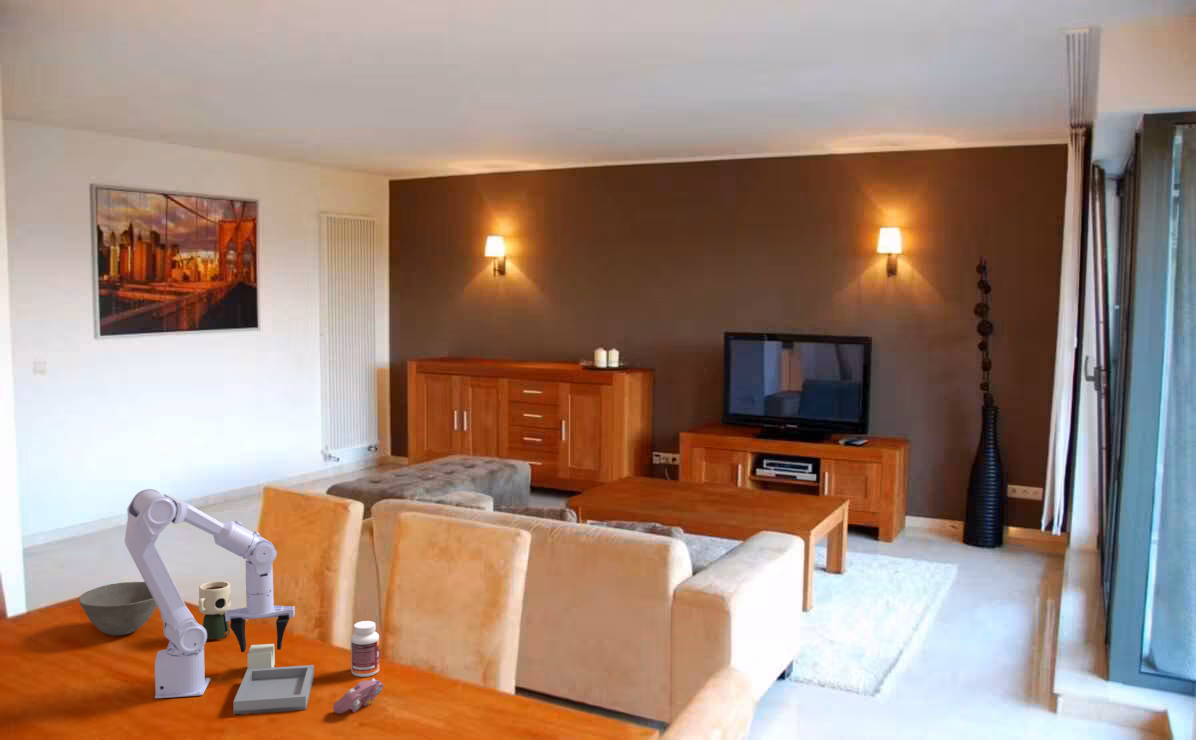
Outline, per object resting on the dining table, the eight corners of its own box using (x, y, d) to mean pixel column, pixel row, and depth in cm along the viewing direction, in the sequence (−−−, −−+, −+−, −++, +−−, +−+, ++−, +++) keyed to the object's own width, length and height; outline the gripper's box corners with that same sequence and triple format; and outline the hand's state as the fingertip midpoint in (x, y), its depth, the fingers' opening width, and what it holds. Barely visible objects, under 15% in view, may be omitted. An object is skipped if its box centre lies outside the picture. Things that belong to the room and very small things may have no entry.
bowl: (142, 647, 223) (141, 606, 222) (64, 646, 223) (62, 605, 222) (178, 619, 241) (177, 581, 240) (106, 617, 242) (104, 580, 241)
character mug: (213, 646, 223) (211, 594, 222) (188, 643, 225) (186, 590, 224) (242, 630, 234) (241, 580, 233) (218, 627, 236) (217, 577, 235)
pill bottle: (383, 673, 209) (383, 626, 208) (356, 680, 206) (356, 631, 205) (373, 664, 215) (373, 617, 214) (347, 670, 211) (346, 622, 210)
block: (247, 675, 208) (247, 653, 207) (251, 666, 213) (251, 645, 212) (271, 673, 209) (271, 652, 208) (274, 664, 214) (274, 643, 213)
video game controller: (343, 725, 189) (354, 699, 186) (329, 710, 191) (340, 684, 188) (379, 706, 197) (390, 681, 195) (365, 692, 199) (375, 667, 197)
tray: (233, 714, 189) (233, 701, 189) (247, 681, 205) (247, 669, 204) (305, 709, 192) (305, 696, 191) (314, 677, 207) (313, 664, 207)
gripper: (295, 582, 214) (297, 640, 216) (228, 586, 212) (230, 644, 213) (291, 593, 207) (293, 652, 209) (222, 597, 205) (224, 656, 206)
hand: (261, 649), depth 210 cm, fingers open, 7 cm apart
